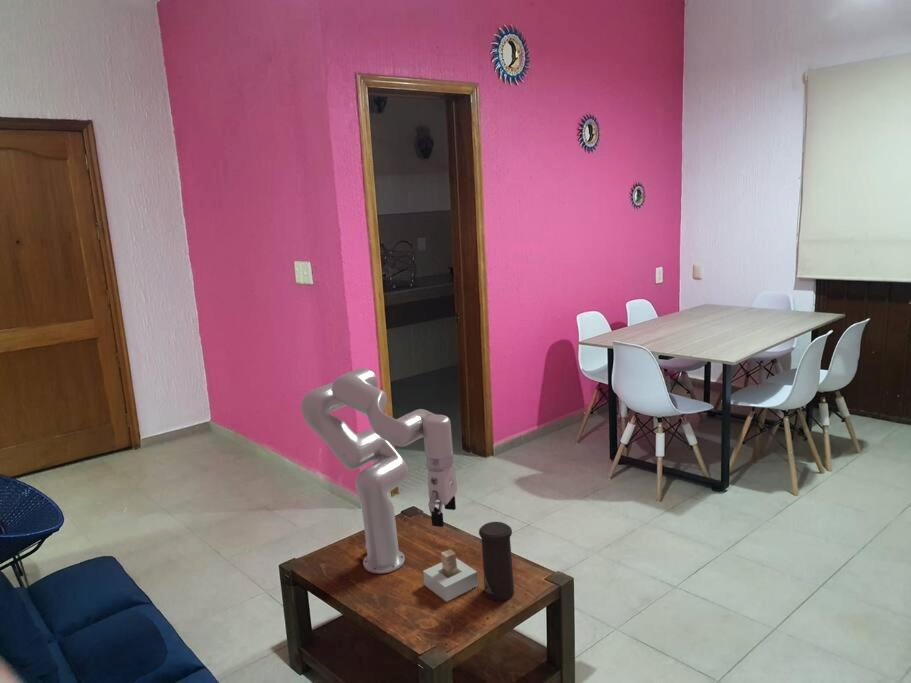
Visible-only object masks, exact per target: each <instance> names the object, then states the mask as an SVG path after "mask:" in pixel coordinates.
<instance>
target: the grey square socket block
mask: <svg viewBox="0 0 911 683" xmlns="http://www.w3.org/2000/svg"><path fill="white" fill-rule="evenodd" d="M456 563H457V574H456V575H454V576H452V577H450V578H446V577H445V576H444V575H443V567H442V561H441V562H439V563H437V564H435V565H433V566H431V567H430V566H429V567H428V568H427V569H424V570H422V573H423V583H424V584H423V585H424V586H425V587H426V588H428V589H429V590H430V591H431V592H433V593H434V594H435V595H436V596H438V597H440V598H441V599H442V600H443V601H445V602H446V603H447V602H449V601H451V600H454V599H455V598H457V597H459V596H461V595H463V594H465V593H467V592H469V591H471V590H473V589H475V588H477V587H478V586H479V582H478V581H479V579H478V578H479V577H478V571H476V570H475V569H474V568H472V567H471V566H469V565H468V564H467V563H464V562H463V561H461V560H460V559H459V558H457V557H456ZM474 587H475V588H474ZM472 588H473V589H472Z"/></svg>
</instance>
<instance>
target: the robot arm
mask: <svg viewBox="0 0 911 683" xmlns="http://www.w3.org/2000/svg"><path fill="white" fill-rule="evenodd" d="M378 385H379V381H378V377H377V375H376V374H375V373H374V372H373V370H371V369H369V368H366V367H360V368H357V369H355V370H352V371H349V372H346V373H344V374H341V375H340V376H338V377H336V379H334V381H332V382H329V383H327V384H325V385H322V386H319V387H316V388H315V389H312V390H310V391H309V392H307V393H306V394H305V395H303V398H302V400H301V403H300V411H301V414H302V417H303V419H304V421H305V423H306V424H307V425H308V427H309V428H310V430H312V431H313V432H314V433H315V434H316V435H317V436H318V437H319V438H321V440H323V442H324V443H325V444H326V445H327V447H328V448H329V450H331V452H332V453H333V455H334V456H335V457H336V458H337V459H338V461H339V462H340V463H341V464H342V465H343V466H344V467H345V468H346V469H348V470H350V471H354V470H358V469H360V468H362V467H364V466H366V465H367V464H369V463H372V462H373V464H370V465H369V466H367V467H365V468H364V469H362V470H361V471H360V472H359V473H358V475H356V478H355V482H354V485H355V489H356V493H357V496H358V498H359V502H360V507H361V513H362V521H363V528H364V536H365V545H364V547H365V548H366V552H367V555H366V556H365V557H364V559H363V563H362V564H363V568H364V569H365V571H367V572H369V573H373V574H387V573H391V572H393V571H397V570H398V569H399V568H401V567H402V566H403V565H404V564H405V557H406V556H405V554H404V553H403V552H402V551H401V550H399V542H398V533H397V524H396V514H395V508H394V507H395V506H394V505H393V503H392V501H391V500H390V498H388V493H390V492H392V490H395V489H396V488H397V487H399V486H401V485H403V483H405V482H406V480H407V479H408V477H409V468H408V465H407V463H406V461H405V460H404V458H403V457H402V455H400V454H399V452H398V451H397V450H396V449H395V448H394V446H397V447H406V446H409V445H410V444H413V443H414V442H415V441H418V440H420V439H422V438H423V444H424V445H423V446H424V455H425V465H426V466H425V467H426V468H427V469H428V470H427V482H428V484H427V486H428V489H427V490H428V499H429V500H428V508H429V512H430V517H431V518H430V519H431V526H432V527H439V528H443V527H444V525H445V524H444V514H443V511H442V510H443V505H444V509H445V510H451V511H455V510H456V508H457V507H456V506H457V505H456V493H457V492H458V485H457V477H456V469H455V464H454V462H455V461H454V450H453V437H452V435H453V434H452V425H451V423H452V422H451V419H450V418H449V417H448V416H447V415H444V414H436V413H433V412H431V411H429V410H426V409H423V408H419V409H416V410H415V409H414V410H413V411H411V412H409V413H406V414H404V415H402V416H400V417H399V418H397V419H396V418H394V417H392V416H390V415H388V414H387V413H385V411H386V410H385V409H386V406H387V404H388V396H387V393H386V392H385V391H383V389H380V388H378ZM347 406H348V407H350V408H351V409H353V410H355V411H356V412H359V413H360V414H362V415H364V416H366V417H367V418H368V422H369V425H370V427H371V429H365V430H363V431H360V432H357V433H355V432H354V431H353V430H352V429H351V428H350V426H349V425H348V423H347V422H345V421H344V420H343V419H341V418H339V417H338V416H334V415H332V414H331V413H333V412H335V411H338V410H340V409H343V408H345V407H347ZM393 445H394V446H393ZM436 505H437V506H438V507H436Z"/></svg>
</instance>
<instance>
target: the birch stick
mask: <svg viewBox="0 0 911 683" xmlns="http://www.w3.org/2000/svg"><path fill="white" fill-rule="evenodd" d="M440 554H441V562H442V567H443V575H444V576H445V577H446V578H450V577H452V576H454V575H456V574H457V563H456V558H457V554H456V553H455V551H453V549H451V548H450V549H447V550H444V551H442V552H440Z"/></svg>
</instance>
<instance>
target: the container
mask: <svg viewBox="0 0 911 683" xmlns="http://www.w3.org/2000/svg"><path fill="white" fill-rule="evenodd" d="M478 534H479V537H480V539H481V549H482V550H481V551H482V552H481V553H482V567H483V568H482V569H483V584H484V594H485V596H486V597H487V598H488V599H490V600H492V601H496V602H497V601H498V602H501V601H506V600H509V599H511V598H512V597H513V596H514V594H515V583H514V582H515V581H514V572H513V571H514V570H513V560H512V549H511V548H512V547H511V545H512V544H511V536H512V535H513V530H512V527H511V526H509V525H508V524H507V523H505V522H502V521H501V522H500V521H490V522H487V523H485V524H483V525H482V526H481V527H480V528H479V529H478Z"/></svg>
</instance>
